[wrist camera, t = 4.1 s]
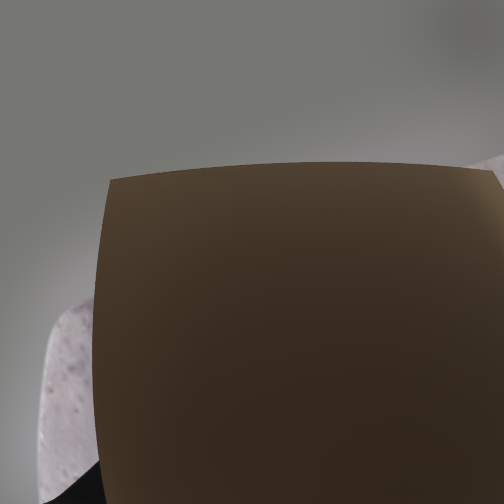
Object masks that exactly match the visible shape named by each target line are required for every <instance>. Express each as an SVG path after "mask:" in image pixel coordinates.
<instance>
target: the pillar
mask: <svg viewBox="0 0 504 504" xmlns="http://www.w3.org/2000/svg"><path fill="white" fill-rule="evenodd" d="M92 377H93V401H94V416H95V428H96V438H97V447H98V455H99V462H100V469H101V475H102V481H103V487H104V492H105V497H106V502H107V504H504V190H503V188H502V186H501V184H500V183H499V181H498V179H497V177H496V176H495V174H494V172H493V171H488V170H480V169H470V168H460V167H449V166H437V165H422V164H404V163H376V162H301V163H272V164H253V165H239V166H224V167H212V168H201V169H190V170H181V171H172V172H163V173H155V174H147V175H140V176H133V177H126V178H119V179H113V180H111V181H110V185H109V190H108V195H107V200H106V206H105V212H104V218H103V224H102V231H101V238H100V246H99V253H98V262H97V272H96V282H95V295H94V310H93V334H92Z"/></svg>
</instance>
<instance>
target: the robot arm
mask: <svg viewBox="0 0 504 504" xmlns="http://www.w3.org/2000/svg"><path fill="white" fill-rule="evenodd" d="M44 504H107V502H106V497H105V492H104V487H103V481H102V475H101V469H100V462H99V461H98V462H97V463H96V464H95V465H94V466H93V467H91V468H90V469H89V470H88V471H87V472H86V473H85V474H84V475H83V476H81V477H80V478H79V479H78V480H77V481H76V482H75V483H73V484H72V485H71V486H70V487H69V488H68V489H67V490H65V491H64V492H63V493H62V494H61V495H59V496H58V497H56V498H55V499H53V500H51V501H49V502H47V503H44Z"/></svg>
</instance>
